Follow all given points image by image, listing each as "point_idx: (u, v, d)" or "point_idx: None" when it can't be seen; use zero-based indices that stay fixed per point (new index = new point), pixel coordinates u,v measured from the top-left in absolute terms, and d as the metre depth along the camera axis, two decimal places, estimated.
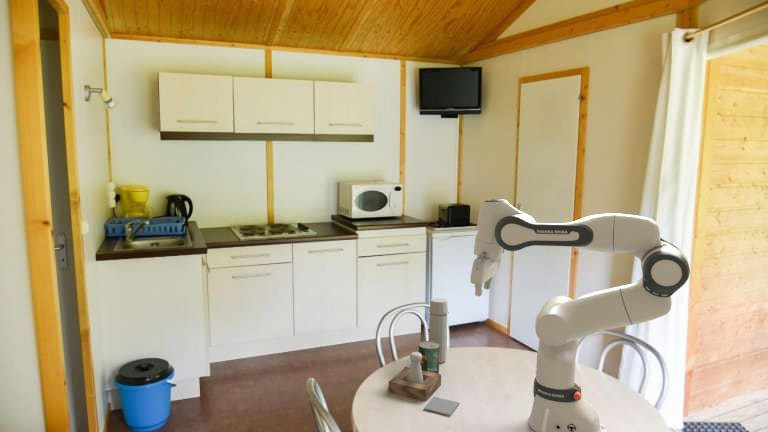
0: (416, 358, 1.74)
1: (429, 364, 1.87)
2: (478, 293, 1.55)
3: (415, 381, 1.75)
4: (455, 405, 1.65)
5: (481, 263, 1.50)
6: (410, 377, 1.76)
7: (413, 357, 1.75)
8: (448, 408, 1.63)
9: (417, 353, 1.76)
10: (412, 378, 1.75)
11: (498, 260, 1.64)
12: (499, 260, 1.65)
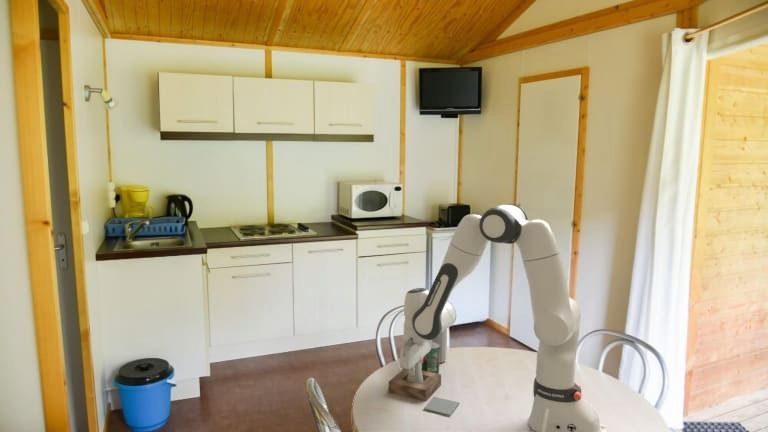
0: None
1: (429, 364, 1.87)
2: (412, 373, 1.74)
3: (415, 381, 1.75)
4: (455, 405, 1.65)
5: (407, 350, 1.67)
6: (410, 377, 1.76)
7: None
8: (448, 408, 1.63)
9: None
10: (412, 378, 1.75)
11: (429, 340, 1.82)
12: (430, 340, 1.82)
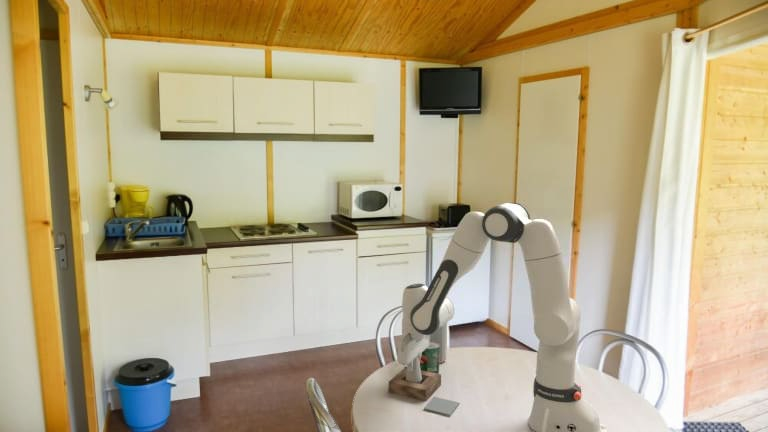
0: None
1: (429, 364, 1.87)
2: (410, 368, 1.74)
3: (413, 377, 1.75)
4: (455, 405, 1.65)
5: (405, 345, 1.67)
6: (408, 373, 1.76)
7: None
8: (448, 408, 1.63)
9: None
10: (410, 374, 1.75)
11: (427, 336, 1.82)
12: (428, 336, 1.82)
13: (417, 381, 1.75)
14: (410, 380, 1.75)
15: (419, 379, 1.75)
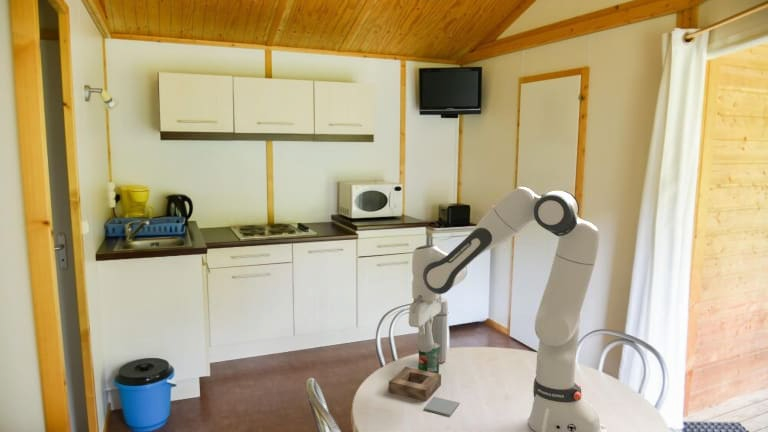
0: None
1: (429, 364, 1.87)
2: (422, 332, 1.68)
3: (425, 341, 1.69)
4: (455, 405, 1.65)
5: (416, 307, 1.62)
6: (420, 337, 1.70)
7: None
8: (448, 408, 1.63)
9: None
10: (422, 338, 1.69)
11: (438, 300, 1.76)
12: (439, 300, 1.76)
13: (429, 346, 1.69)
14: (421, 345, 1.69)
15: (431, 344, 1.70)
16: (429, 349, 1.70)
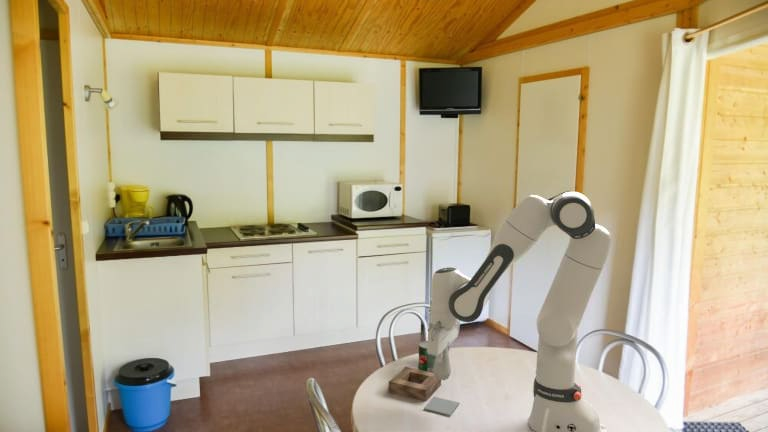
0: None
1: (429, 364, 1.87)
2: (439, 360, 1.60)
3: (442, 369, 1.61)
4: (455, 405, 1.65)
5: (435, 334, 1.53)
6: (437, 365, 1.61)
7: None
8: (448, 408, 1.63)
9: None
10: (439, 366, 1.61)
11: (456, 325, 1.68)
12: (458, 325, 1.68)
13: (446, 374, 1.61)
14: (438, 372, 1.61)
15: (448, 371, 1.61)
16: (446, 377, 1.62)
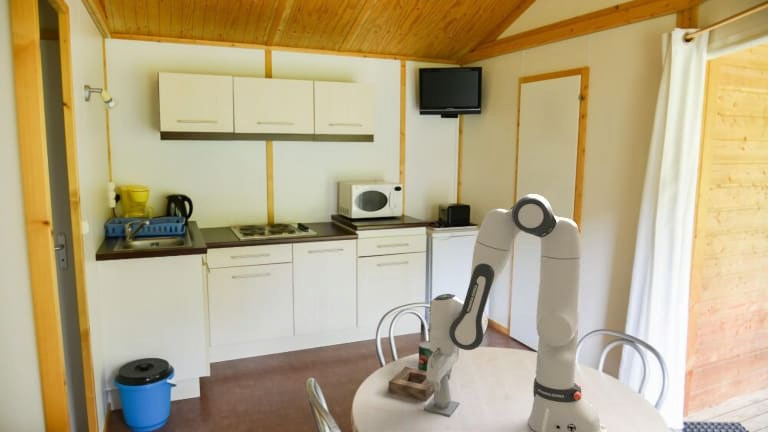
0: None
1: None
2: (437, 388, 1.59)
3: (442, 397, 1.62)
4: (455, 405, 1.65)
5: (435, 362, 1.54)
6: (437, 393, 1.62)
7: None
8: (448, 408, 1.63)
9: None
10: (439, 394, 1.62)
11: None
12: (457, 350, 1.69)
13: (446, 402, 1.62)
14: (439, 401, 1.62)
15: (448, 400, 1.62)
16: (446, 405, 1.63)
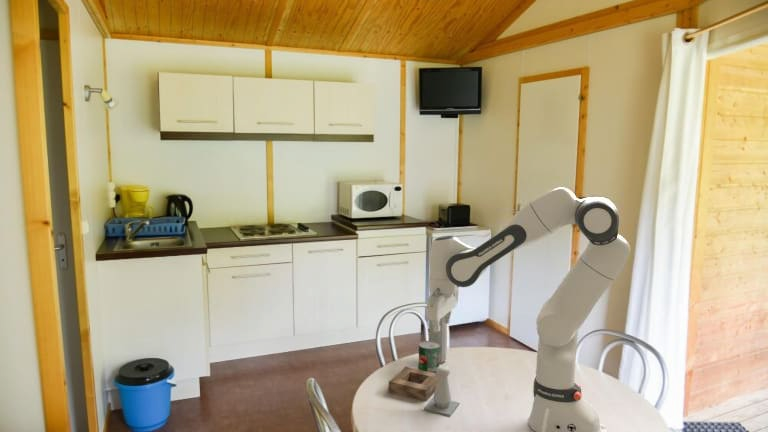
0: (443, 373, 1.61)
1: (429, 364, 1.87)
2: (436, 329, 1.59)
3: (442, 397, 1.62)
4: (455, 405, 1.65)
5: (435, 300, 1.54)
6: (437, 393, 1.62)
7: (440, 371, 1.61)
8: (448, 408, 1.63)
9: (444, 367, 1.63)
10: (439, 394, 1.62)
11: (455, 294, 1.69)
12: (456, 294, 1.69)
13: (446, 402, 1.62)
14: (439, 401, 1.62)
15: (448, 400, 1.62)
16: (446, 405, 1.63)
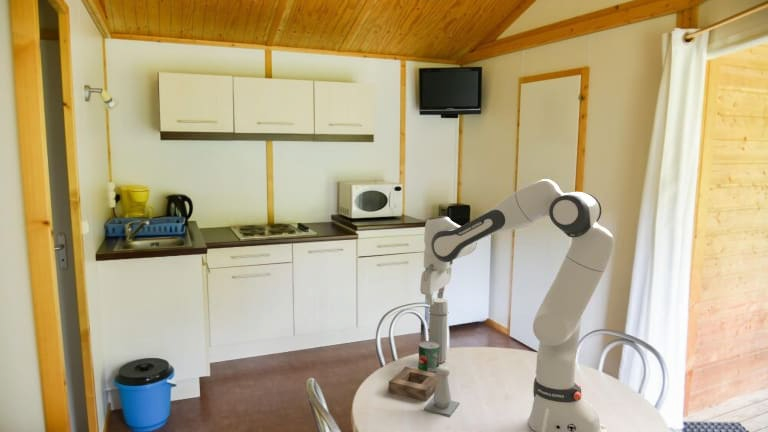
0: (443, 373, 1.61)
1: (429, 364, 1.87)
2: (430, 302, 1.71)
3: (442, 397, 1.62)
4: (455, 405, 1.65)
5: (428, 275, 1.67)
6: (437, 393, 1.62)
7: (440, 371, 1.61)
8: (448, 408, 1.63)
9: (444, 367, 1.63)
10: (439, 394, 1.62)
11: (448, 271, 1.81)
12: (449, 271, 1.81)
13: (446, 402, 1.62)
14: (439, 401, 1.62)
15: (448, 400, 1.62)
16: (446, 405, 1.63)
